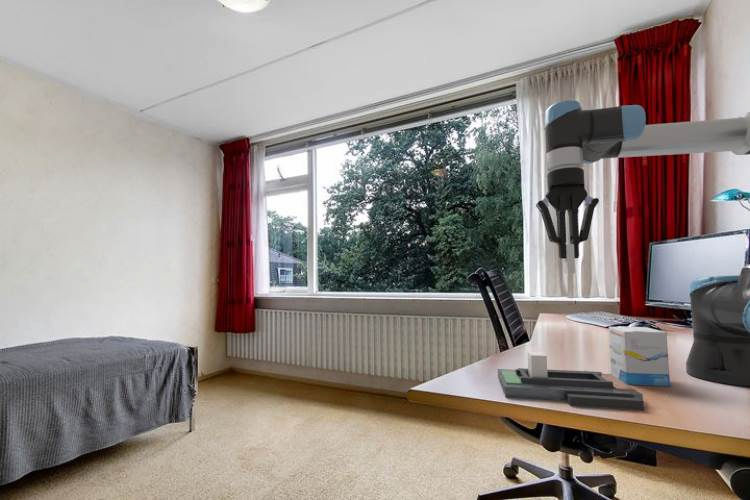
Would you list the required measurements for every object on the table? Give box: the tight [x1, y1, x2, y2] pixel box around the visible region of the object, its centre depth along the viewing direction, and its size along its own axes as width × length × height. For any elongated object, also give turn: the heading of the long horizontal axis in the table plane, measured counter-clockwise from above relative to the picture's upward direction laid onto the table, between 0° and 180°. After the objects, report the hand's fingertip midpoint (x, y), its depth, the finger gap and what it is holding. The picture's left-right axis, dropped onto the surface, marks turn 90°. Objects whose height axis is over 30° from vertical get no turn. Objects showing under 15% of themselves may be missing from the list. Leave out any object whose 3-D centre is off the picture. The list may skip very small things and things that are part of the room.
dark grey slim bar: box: [517, 367, 604, 374], centre depth 85 cm, size 18×2×2 cm, turn 77°
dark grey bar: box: [567, 394, 645, 411], centre depth 66 cm, size 12×2×2 cm, turn 77°
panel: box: [497, 368, 644, 402], centre depth 76 cm, size 24×14×3 cm, turn 77°
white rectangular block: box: [527, 351, 548, 378], centre depth 77 cm, size 3×4×5 cm
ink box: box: [608, 325, 671, 387], centre depth 83 cm, size 9×8×12 cm
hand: (569, 273), depth 82 cm, fingers closed
